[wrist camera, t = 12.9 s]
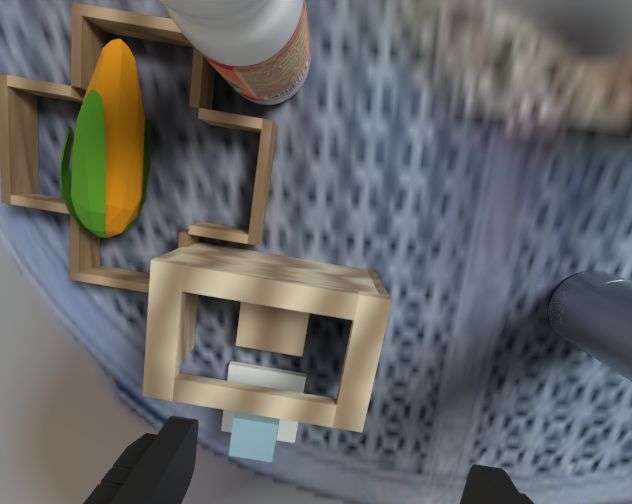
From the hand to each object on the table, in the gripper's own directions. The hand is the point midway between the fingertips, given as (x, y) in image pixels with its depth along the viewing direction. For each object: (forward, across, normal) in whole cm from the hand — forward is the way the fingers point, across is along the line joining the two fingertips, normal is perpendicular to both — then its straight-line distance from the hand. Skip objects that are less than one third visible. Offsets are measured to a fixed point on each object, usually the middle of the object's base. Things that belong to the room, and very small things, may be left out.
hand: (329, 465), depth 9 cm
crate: (+30, +5, +8) cm, 31 cm away
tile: (+30, +5, +21) cm, 37 cm away
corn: (+30, +25, -9) cm, 40 cm away
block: (+29, +5, +21) cm, 36 cm away
